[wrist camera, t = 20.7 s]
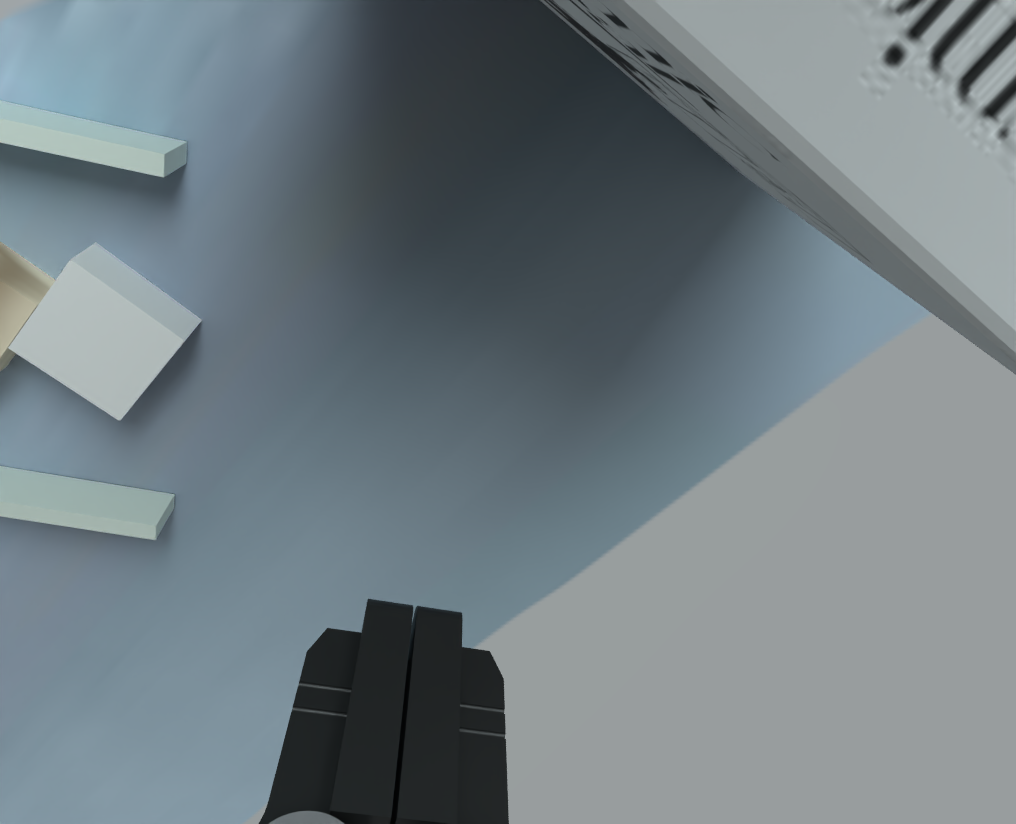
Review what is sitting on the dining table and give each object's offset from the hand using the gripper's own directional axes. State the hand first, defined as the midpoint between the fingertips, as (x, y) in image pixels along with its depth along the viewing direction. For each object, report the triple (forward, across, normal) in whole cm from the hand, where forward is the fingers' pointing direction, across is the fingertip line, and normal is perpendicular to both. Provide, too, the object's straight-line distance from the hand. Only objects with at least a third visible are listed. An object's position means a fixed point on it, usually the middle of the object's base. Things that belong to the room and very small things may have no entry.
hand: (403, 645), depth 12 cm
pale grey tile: (+29, +16, +10) cm, 35 cm away
